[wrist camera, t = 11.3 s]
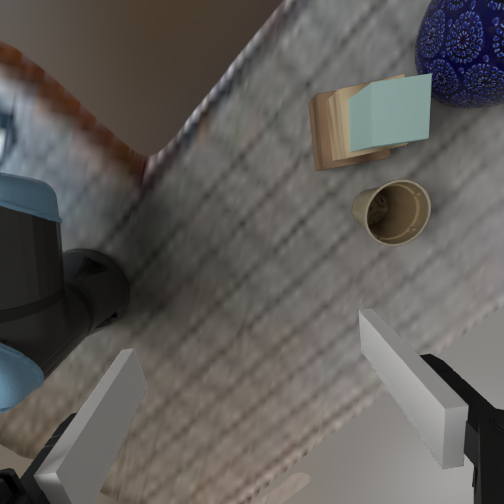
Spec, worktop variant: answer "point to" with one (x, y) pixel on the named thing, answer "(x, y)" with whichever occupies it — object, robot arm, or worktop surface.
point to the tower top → (346, 122)
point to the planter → (463, 51)
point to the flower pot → (393, 211)
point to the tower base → (323, 141)
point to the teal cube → (390, 113)
